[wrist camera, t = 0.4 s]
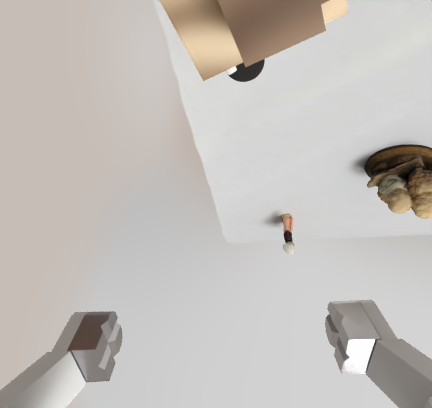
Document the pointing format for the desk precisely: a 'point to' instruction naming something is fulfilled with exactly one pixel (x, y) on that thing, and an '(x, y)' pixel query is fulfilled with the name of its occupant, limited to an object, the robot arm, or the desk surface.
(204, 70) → the tall wooden pillar
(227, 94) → the desk surface
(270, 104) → the desk surface
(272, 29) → the brown wooden bar
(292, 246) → the grandmother figurine
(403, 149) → the brown lumpy piece
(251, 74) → the medicine bottle
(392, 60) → the desk surface
